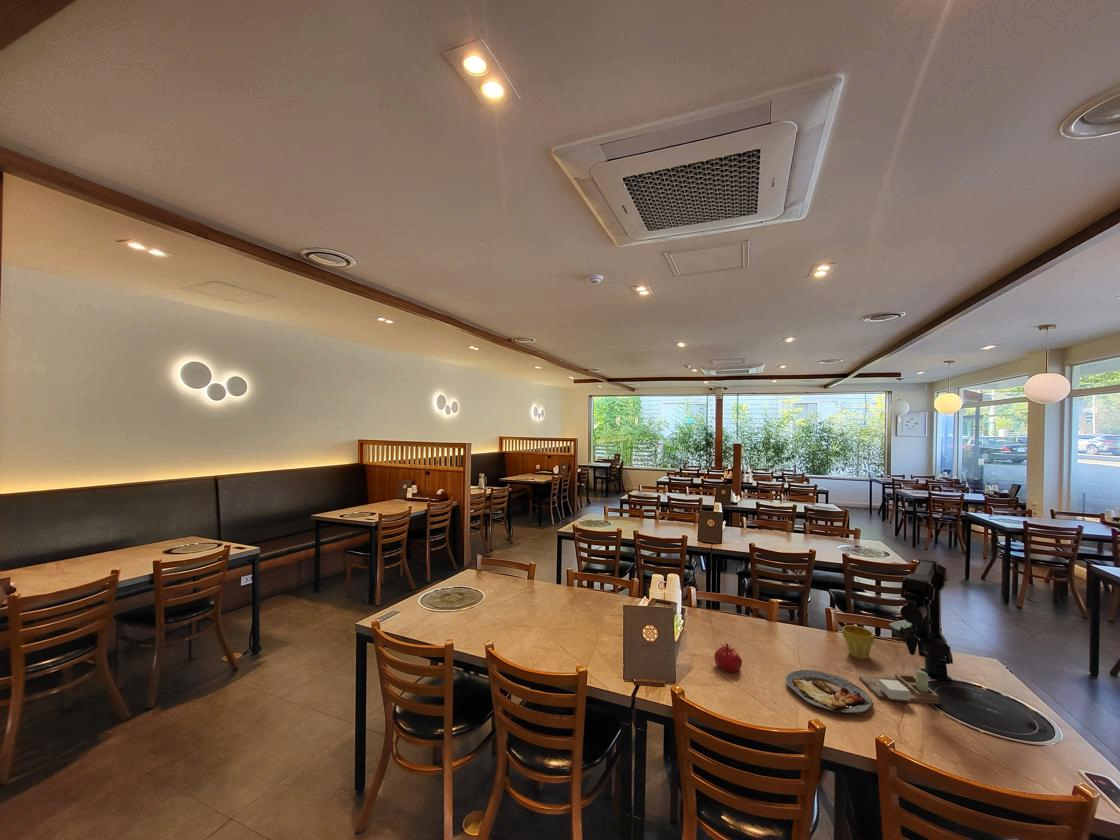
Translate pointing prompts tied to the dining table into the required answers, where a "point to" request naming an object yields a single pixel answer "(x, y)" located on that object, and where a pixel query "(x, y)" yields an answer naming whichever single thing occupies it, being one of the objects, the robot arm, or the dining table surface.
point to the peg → (921, 681)
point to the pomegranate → (728, 659)
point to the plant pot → (858, 641)
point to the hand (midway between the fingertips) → (921, 661)
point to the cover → (894, 689)
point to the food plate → (829, 691)
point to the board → (905, 680)
